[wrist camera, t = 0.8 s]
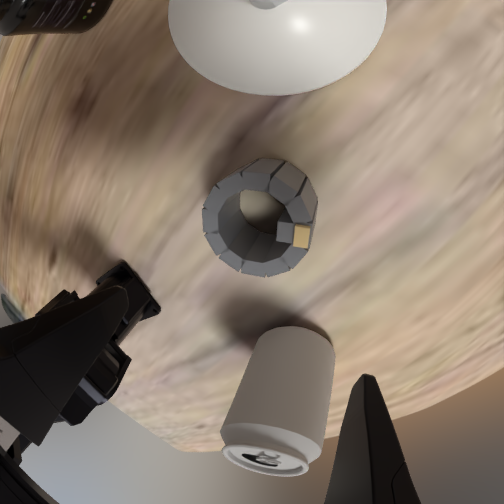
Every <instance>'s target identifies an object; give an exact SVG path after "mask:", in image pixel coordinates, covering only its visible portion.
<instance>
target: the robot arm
mask: <svg viewBox="0 0 504 504" xmlns="http://www.w3.org/2000/svg"><path fill="white" fill-rule="evenodd" d="M96 284H97V285H98V286H97V287H96V288H95V289H94V290H93V291H92V292H91V293H90V294H88V295H87V296H86V297H84V298H81V299H80V298H79V297H78V296H77V295H78V294H77V293H76V291H75V290H74V291H73V292H72V293H70V292H68V291H66V290H63V291H61V292H60V293H59V294H58V295H57V296H56V297H54V298H53V299H52V300H51V301H50V302H49V303H48V304H47V305H45V306H44V307H43V308H42V309H41V310H40V311H39V312H38V313H37V314H35V317H32V318H30V319H27V320H24V321H21V322H18V323H15V324H12V325H8V326H5V327H2V328H0V504H59V503H58V502H57V501H55V500H54V499H53V498H52V497H51V496H50V495H48V494H47V493H46V492H45V491H44V490H43V489H42V488H41V487H40V486H39V485H37V484H36V483H35V482H34V481H33V480H32V479H31V478H30V477H29V476H28V475H27V474H26V473H25V472H24V471H23V470H22V469H21V468H20V467H19V465H20V463H21V462H22V457H21V454H22V453H23V452H24V451H25V449H26V448H27V447H28V446H29V445H30V444H31V443H32V442H33V443H34V444H36V445H37V446H39V445H40V444H41V443H42V441H43V439H44V438H45V436H46V434H47V433H48V431H49V430H50V428H51V426H52V424H53V423H57V422H63V421H66V422H67V423H68V424H69V425H70V426H74V425H77V424H80V423H82V422H83V420H84V419H85V418H86V417H87V416H88V414H89V413H90V412H91V411H92V410H93V409H94V408H95V407H96V406H97V405H101V404H103V403H105V402H106V401H108V400H109V399H110V398H111V397H112V396H113V394H114V393H115V392H116V390H117V389H118V387H119V385H120V383H121V381H122V378H123V376H124V374H125V372H126V370H127V368H128V366H129V364H130V362H131V360H132V359H131V358H130V357H129V356H128V355H126V354H125V353H124V352H123V351H122V350H121V348H120V347H119V345H120V343H121V342H122V341H123V340H124V339H125V337H126V336H127V335H128V334H129V333H130V331H131V330H132V329H133V328H134V327H135V325H136V324H137V323H138V322H139V321H142V320H144V319H147V318H150V317H152V316H155V315H158V314H159V313H160V312H161V309H160V307H159V306H158V305H157V304H156V302H155V301H154V300H153V298H152V297H151V296H150V295H149V293H148V292H147V291H146V290H145V288H144V287H143V286H142V284H141V283H140V282H139V280H138V279H137V278H136V276H135V275H134V274H133V272H132V271H131V270H130V268H129V267H128V265H127V264H126V263H125V262H121V263H120V264H118V265H117V266H115V267H114V268H113V269H111V270H110V271H108V272H107V273H106V274H104V275H103V276H102V277H100V278H99V279H98V280H97V281H96ZM404 461H405V459H404V455H403V452H402V449H401V446H400V443H399V440H398V438H397V435H396V432H395V429H394V426H393V423H392V420H391V418H390V415H389V412H388V409H387V407H386V404H385V401H384V399H383V396H382V394H381V391H380V388H379V386H378V383H377V381H376V378H375V377H374V376H373V375H369V374H362V376H361V377H360V378H359V379H358V381H357V382H356V383H355V384H354V386H353V388H352V390H351V394H350V398H349V402H348V405H347V409H346V413H345V416H344V419H343V423H342V426H341V431H340V436H339V441H338V446H337V452H336V456H335V461H334V465H333V470H332V474H331V479H330V483H329V487H328V491H327V495H326V498H325V502H324V504H421V502H420V500H419V497H418V495H417V492H416V490H415V487H414V485H413V482H412V479H411V477H410V474H409V471H408V468H407V465H406V462H404Z"/></svg>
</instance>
